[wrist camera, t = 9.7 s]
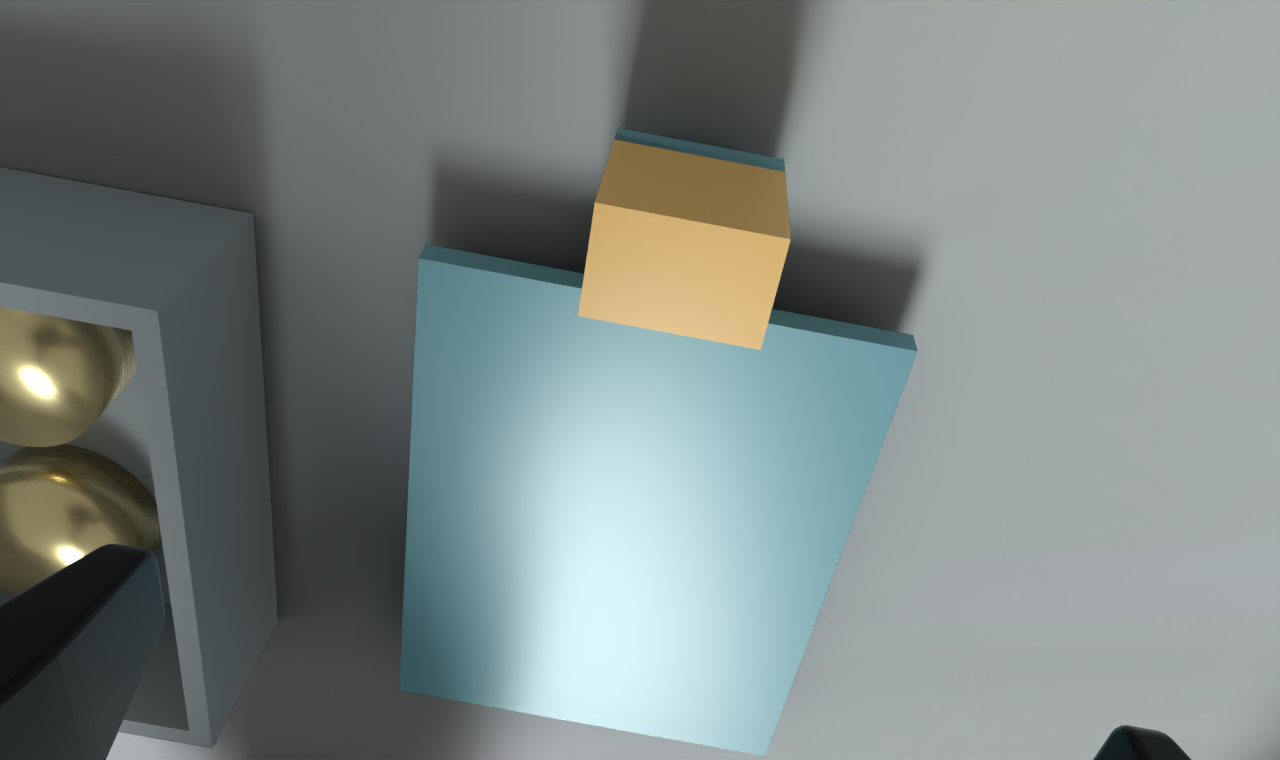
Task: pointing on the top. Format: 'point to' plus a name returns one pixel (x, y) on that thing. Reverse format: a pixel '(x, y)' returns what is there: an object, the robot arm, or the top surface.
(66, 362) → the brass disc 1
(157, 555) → the tub
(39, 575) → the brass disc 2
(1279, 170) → the top surface
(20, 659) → the robot arm
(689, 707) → the lid
